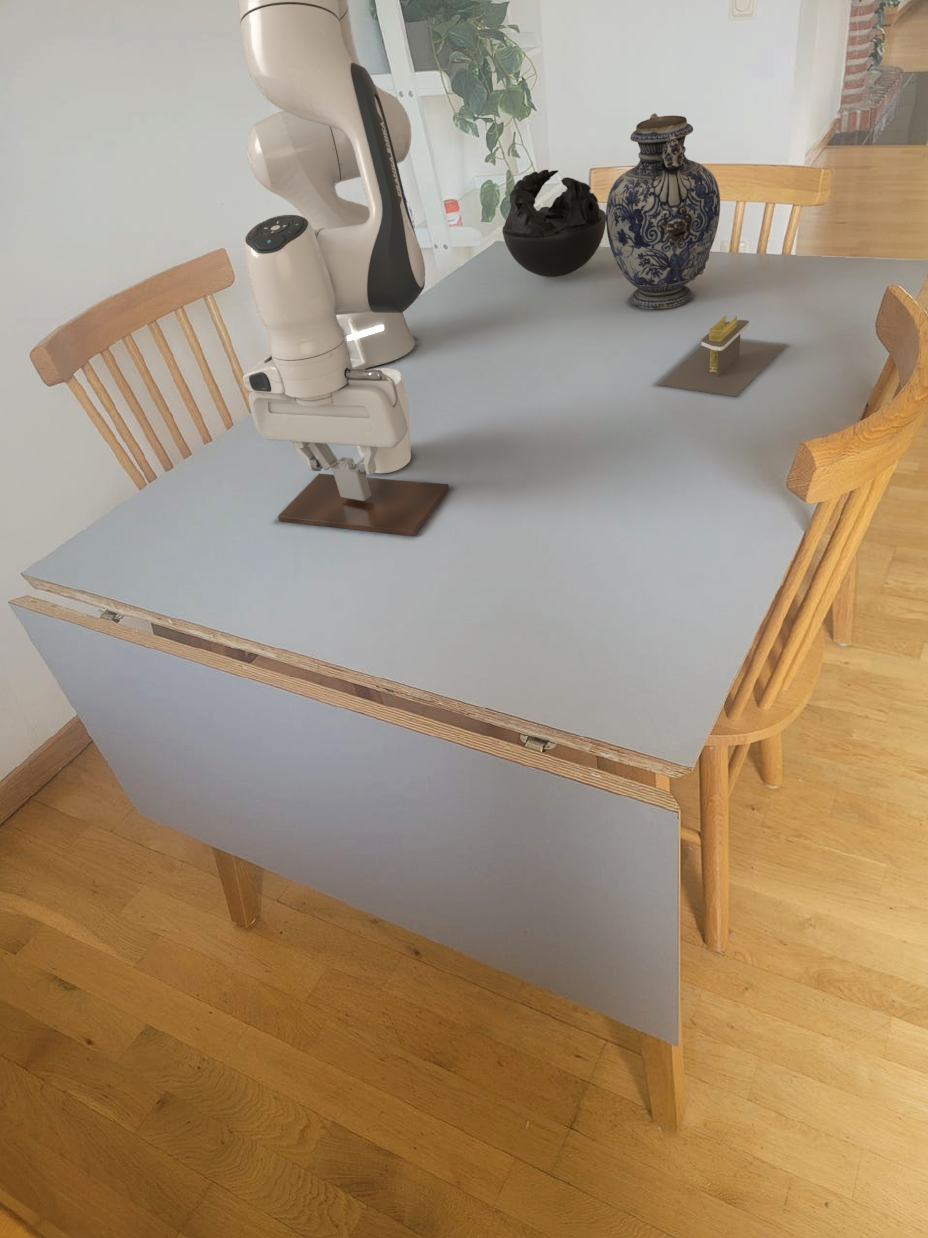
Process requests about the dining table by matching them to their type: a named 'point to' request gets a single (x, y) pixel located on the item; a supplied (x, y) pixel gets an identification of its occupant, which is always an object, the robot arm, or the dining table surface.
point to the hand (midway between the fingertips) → (342, 470)
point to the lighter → (342, 472)
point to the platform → (723, 361)
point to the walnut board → (366, 505)
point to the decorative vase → (662, 215)
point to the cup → (401, 453)
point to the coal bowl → (553, 226)
